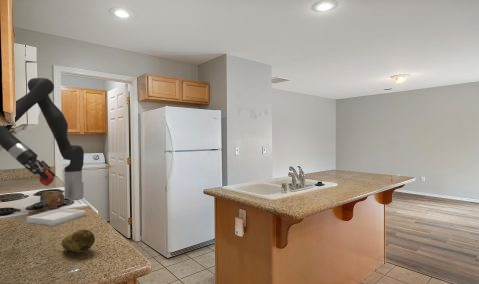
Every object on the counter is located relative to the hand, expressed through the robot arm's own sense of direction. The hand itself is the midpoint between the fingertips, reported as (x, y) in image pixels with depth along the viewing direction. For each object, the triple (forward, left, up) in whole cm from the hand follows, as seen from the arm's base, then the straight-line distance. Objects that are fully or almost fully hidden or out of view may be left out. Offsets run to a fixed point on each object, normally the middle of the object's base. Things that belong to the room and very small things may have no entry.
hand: (50, 177), depth 132 cm
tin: (-10, -12, -18) cm, 24 cm away
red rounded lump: (+1, -2, -4) cm, 5 cm away
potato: (+32, +55, -18) cm, 67 cm away
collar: (+1, -1, -18) cm, 18 cm away
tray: (+7, +14, -18) cm, 23 cm away
